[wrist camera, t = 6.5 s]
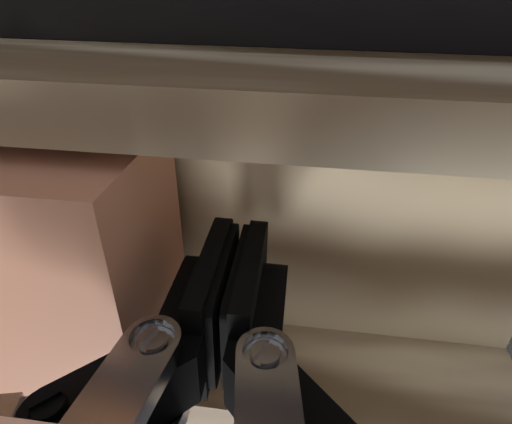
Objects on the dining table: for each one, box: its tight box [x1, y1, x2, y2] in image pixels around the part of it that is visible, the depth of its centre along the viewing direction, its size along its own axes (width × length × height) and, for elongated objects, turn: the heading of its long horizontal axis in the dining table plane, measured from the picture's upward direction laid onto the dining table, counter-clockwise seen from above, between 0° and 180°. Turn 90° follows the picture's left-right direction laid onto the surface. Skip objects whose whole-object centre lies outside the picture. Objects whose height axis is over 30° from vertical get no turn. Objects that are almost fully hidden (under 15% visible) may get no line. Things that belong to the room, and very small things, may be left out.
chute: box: [0, 38, 512, 424], centre depth 13 cm, size 12×25×5 cm, turn 89°
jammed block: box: [0, 146, 184, 396], centre depth 12 cm, size 8×6×5 cm
